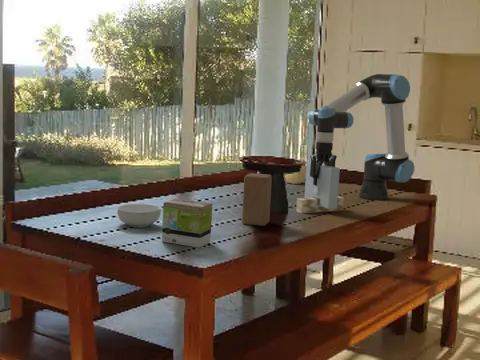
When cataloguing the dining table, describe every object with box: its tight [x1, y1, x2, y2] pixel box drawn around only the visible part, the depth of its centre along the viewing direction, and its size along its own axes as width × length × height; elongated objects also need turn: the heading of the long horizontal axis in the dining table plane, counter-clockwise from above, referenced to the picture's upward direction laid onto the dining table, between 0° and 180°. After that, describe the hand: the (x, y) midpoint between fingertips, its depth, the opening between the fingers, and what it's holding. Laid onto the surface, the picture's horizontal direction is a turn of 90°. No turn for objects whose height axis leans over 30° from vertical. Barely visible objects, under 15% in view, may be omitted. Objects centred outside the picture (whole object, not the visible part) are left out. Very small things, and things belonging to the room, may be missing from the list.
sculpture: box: [285, 167, 306, 185], centre depth 418 cm, size 12×12×11 cm
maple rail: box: [295, 195, 345, 214], centre depth 336 cm, size 24×4×6 cm, turn 122°
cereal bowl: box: [117, 203, 161, 228], centre depth 285 cm, size 17×17×7 cm
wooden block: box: [241, 172, 273, 227], centre depth 300 cm, size 10×10×20 cm
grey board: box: [303, 162, 341, 208], centre depth 334 cm, size 18×5×18 cm, turn 31°
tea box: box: [161, 198, 213, 249], centre depth 260 cm, size 15×10×15 cm, turn 69°
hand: (321, 192), depth 335 cm, fingers closed on grey board, 5 cm apart
